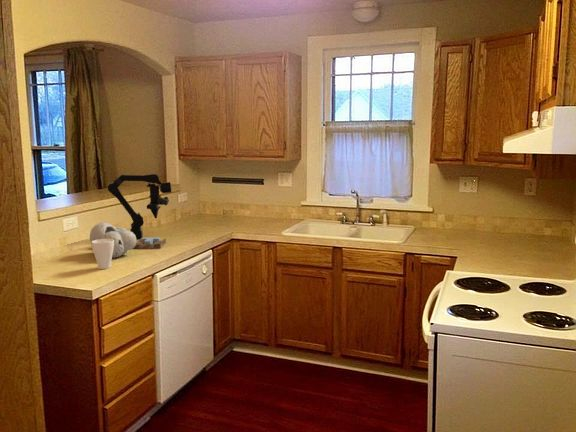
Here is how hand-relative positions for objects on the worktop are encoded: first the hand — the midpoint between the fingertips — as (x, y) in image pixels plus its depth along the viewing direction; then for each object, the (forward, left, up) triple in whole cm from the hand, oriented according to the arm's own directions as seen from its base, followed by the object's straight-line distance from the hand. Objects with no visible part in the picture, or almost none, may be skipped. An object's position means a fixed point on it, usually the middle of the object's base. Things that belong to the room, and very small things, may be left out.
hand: (155, 218), depth 333 cm
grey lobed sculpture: (-13, -48, -12) cm, 51 cm away
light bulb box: (-17, -27, -12) cm, 34 cm away
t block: (+2, -27, -12) cm, 29 cm away
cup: (-8, -75, -12) cm, 76 cm away
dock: (+3, -27, -12) cm, 29 cm away
